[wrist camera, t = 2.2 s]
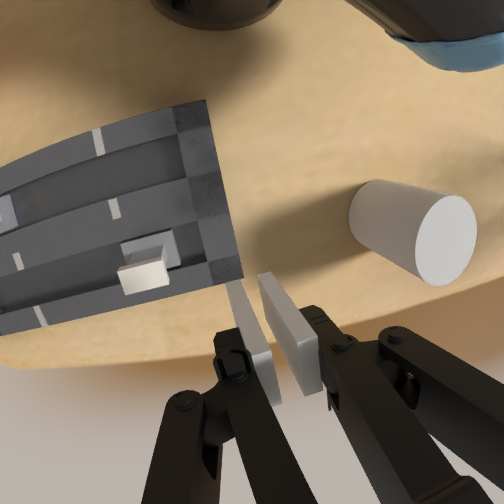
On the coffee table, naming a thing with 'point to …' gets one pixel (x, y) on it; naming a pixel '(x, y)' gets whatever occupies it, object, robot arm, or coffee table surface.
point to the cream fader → (148, 261)
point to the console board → (113, 217)
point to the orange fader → (7, 214)
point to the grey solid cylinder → (415, 228)
